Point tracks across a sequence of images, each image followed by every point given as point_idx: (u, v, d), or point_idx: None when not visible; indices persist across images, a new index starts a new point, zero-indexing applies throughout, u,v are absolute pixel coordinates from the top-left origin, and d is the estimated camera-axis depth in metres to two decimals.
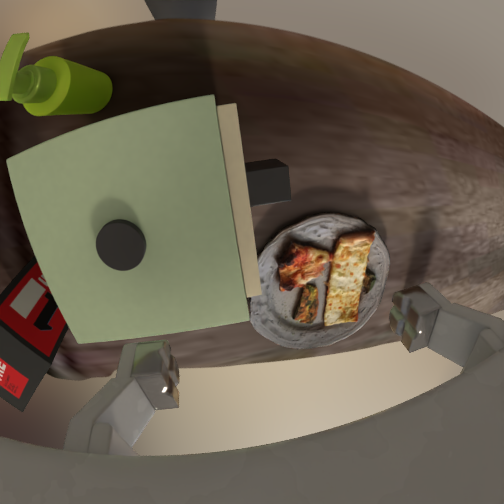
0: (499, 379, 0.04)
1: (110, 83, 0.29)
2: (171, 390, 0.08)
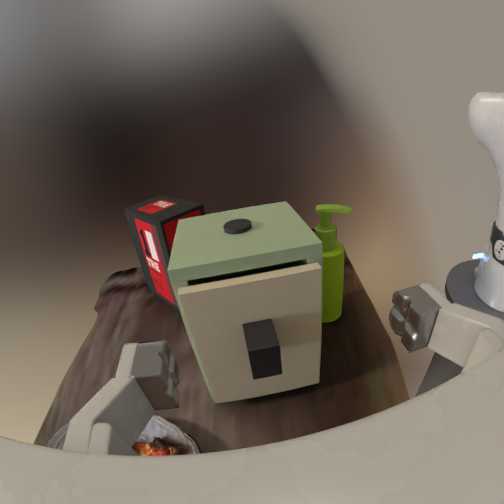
0: (499, 379, 0.04)
1: (332, 318, 0.49)
2: (171, 390, 0.08)
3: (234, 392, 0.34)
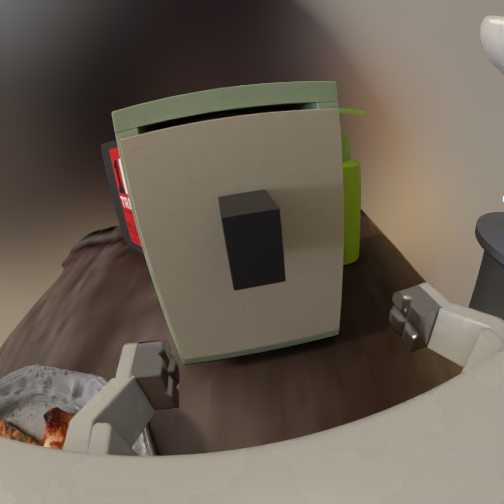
0: (499, 379, 0.04)
1: (348, 259, 0.38)
2: (171, 390, 0.08)
3: (210, 339, 0.23)
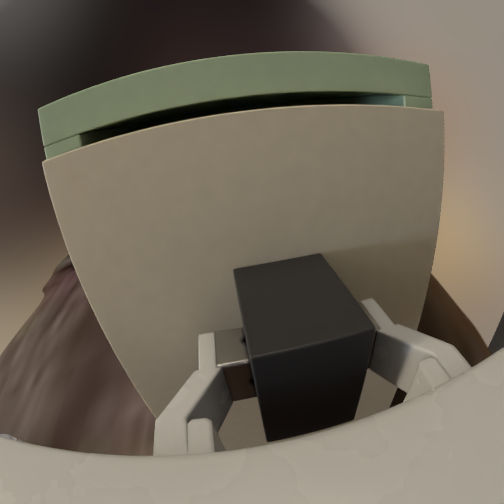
0: (499, 379, 0.04)
1: None
2: None
3: None
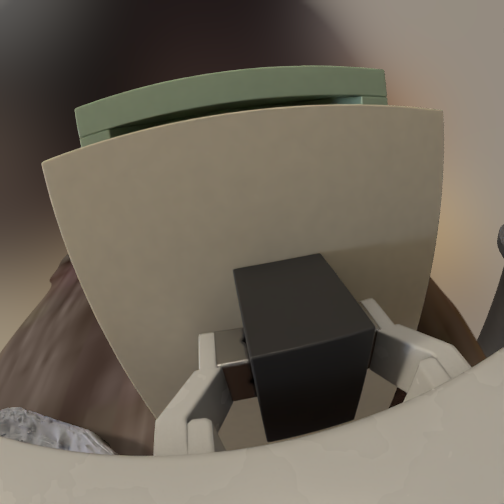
0: (499, 379, 0.04)
1: None
2: (253, 378, 0.08)
3: None
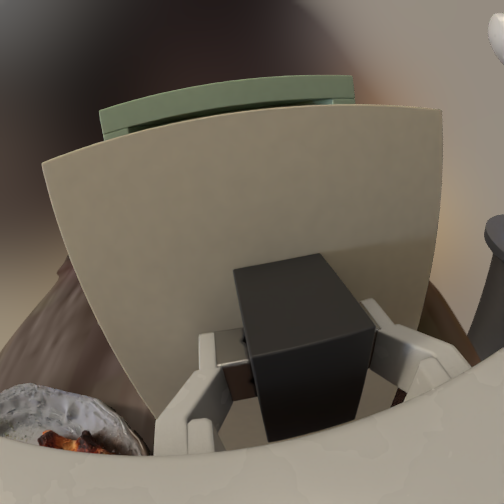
0: (499, 379, 0.04)
1: None
2: (253, 378, 0.08)
3: None
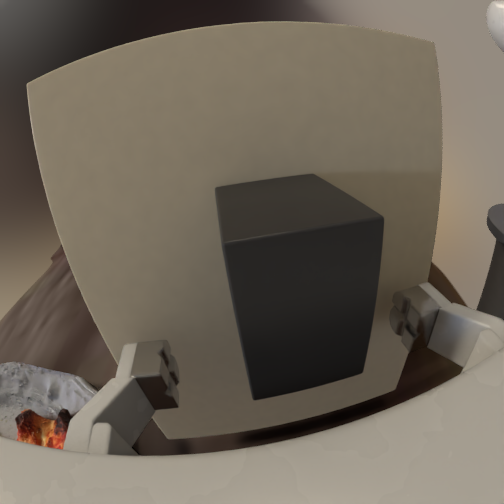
0: (499, 379, 0.04)
1: None
2: (171, 390, 0.08)
3: (206, 420, 0.13)
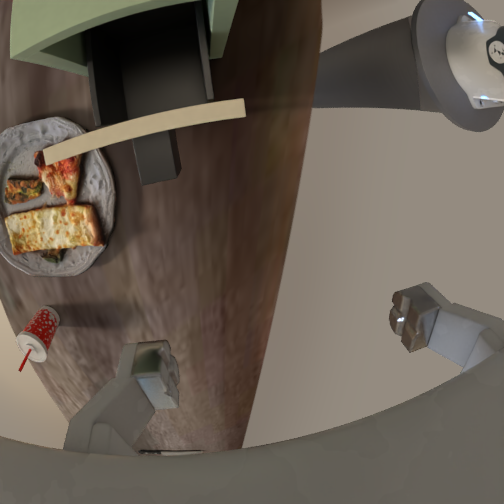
0: (499, 379, 0.04)
1: None
2: (171, 390, 0.08)
3: None
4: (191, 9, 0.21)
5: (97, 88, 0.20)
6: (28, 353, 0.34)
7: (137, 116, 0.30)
